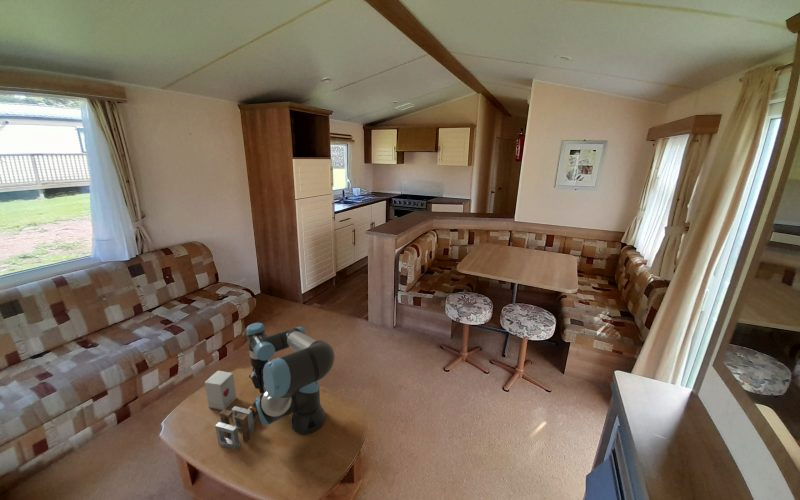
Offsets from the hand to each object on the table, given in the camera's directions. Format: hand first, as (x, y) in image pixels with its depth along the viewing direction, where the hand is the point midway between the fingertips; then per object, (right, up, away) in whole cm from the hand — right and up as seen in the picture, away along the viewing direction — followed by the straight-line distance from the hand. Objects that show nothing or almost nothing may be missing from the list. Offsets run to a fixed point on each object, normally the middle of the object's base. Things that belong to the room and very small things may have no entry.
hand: (264, 396), depth 154 cm
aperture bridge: (-5, -10, -16) cm, 20 cm away
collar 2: (-4, -9, -12) cm, 15 cm away
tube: (-2, -5, -7) cm, 9 cm away
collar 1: (-6, -12, -20) cm, 24 cm away
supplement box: (-22, -5, +3) cm, 22 cm away
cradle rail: (-1, -6, -2) cm, 7 cm away
